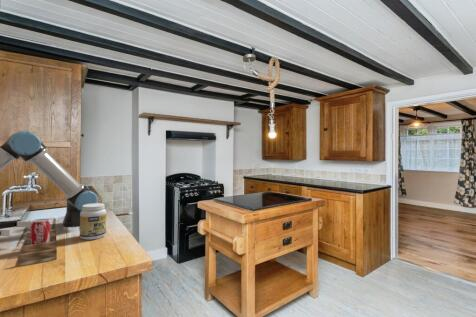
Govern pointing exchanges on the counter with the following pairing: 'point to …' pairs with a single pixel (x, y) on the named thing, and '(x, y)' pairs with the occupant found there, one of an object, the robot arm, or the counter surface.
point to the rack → (38, 250)
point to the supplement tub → (92, 221)
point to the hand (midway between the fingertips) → (21, 228)
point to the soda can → (40, 231)
